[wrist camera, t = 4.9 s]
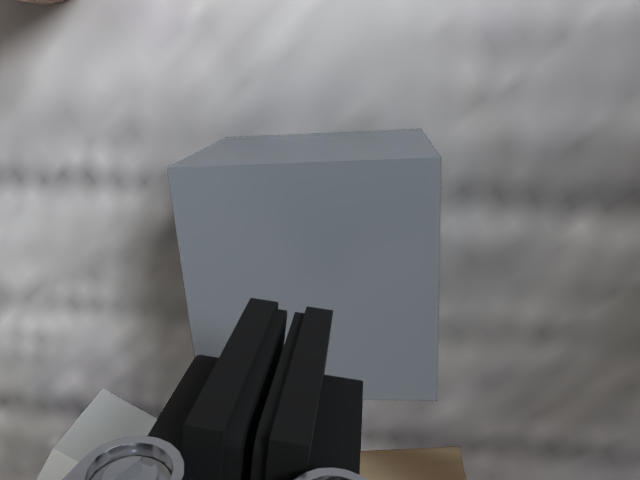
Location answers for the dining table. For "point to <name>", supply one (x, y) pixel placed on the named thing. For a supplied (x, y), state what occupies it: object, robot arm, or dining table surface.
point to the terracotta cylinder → (43, 1)
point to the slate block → (319, 246)
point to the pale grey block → (95, 432)
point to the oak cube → (412, 464)
